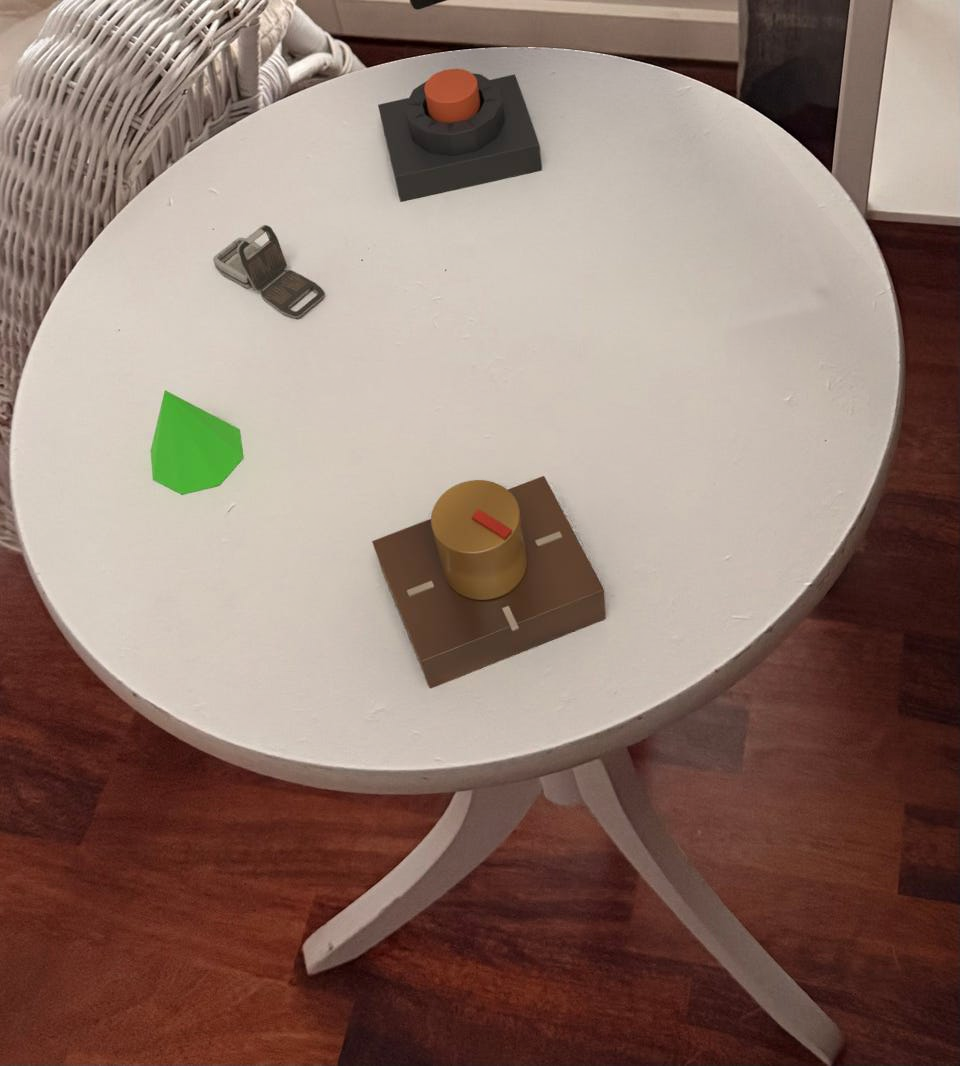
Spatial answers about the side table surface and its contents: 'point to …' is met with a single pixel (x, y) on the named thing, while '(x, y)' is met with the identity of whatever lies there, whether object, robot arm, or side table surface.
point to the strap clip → (267, 272)
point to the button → (452, 95)
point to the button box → (460, 141)
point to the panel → (501, 623)
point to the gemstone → (192, 447)
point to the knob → (479, 539)
